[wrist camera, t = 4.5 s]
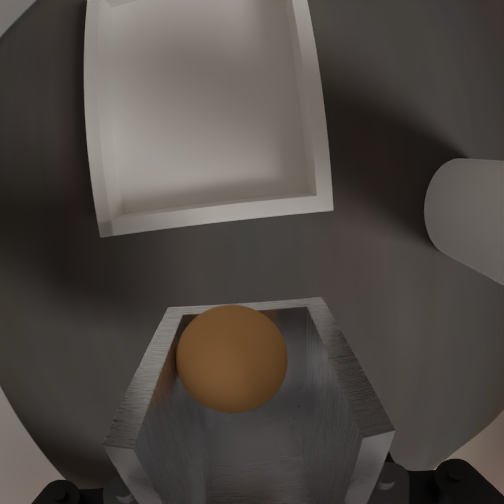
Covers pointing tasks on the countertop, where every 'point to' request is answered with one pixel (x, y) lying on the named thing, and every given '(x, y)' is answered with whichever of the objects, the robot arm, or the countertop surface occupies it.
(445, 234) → the cylindrical container
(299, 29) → the tray
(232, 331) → the ball
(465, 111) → the countertop surface
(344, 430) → the scoop
